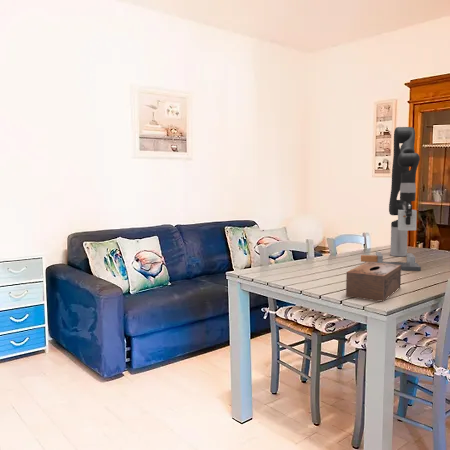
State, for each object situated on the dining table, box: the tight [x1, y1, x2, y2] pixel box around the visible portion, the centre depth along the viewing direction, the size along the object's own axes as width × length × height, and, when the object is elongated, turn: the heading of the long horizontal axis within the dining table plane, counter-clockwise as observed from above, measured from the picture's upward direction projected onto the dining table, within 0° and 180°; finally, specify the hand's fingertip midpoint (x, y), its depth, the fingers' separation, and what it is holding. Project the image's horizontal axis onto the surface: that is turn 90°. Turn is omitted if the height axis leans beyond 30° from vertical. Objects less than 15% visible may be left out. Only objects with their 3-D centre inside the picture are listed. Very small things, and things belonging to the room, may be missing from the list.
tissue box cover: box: [345, 262, 402, 302], centre depth 187 cm, size 26×14×10 cm, turn 145°
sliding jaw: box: [360, 251, 384, 263], centre depth 238 cm, size 12×10×5 cm
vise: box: [364, 252, 422, 272], centre depth 236 cm, size 12×26×7 cm, turn 76°
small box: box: [397, 209, 418, 231], centre depth 237 cm, size 8×6×10 cm
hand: (406, 224), depth 238 cm, fingers closed on small box, 6 cm apart
